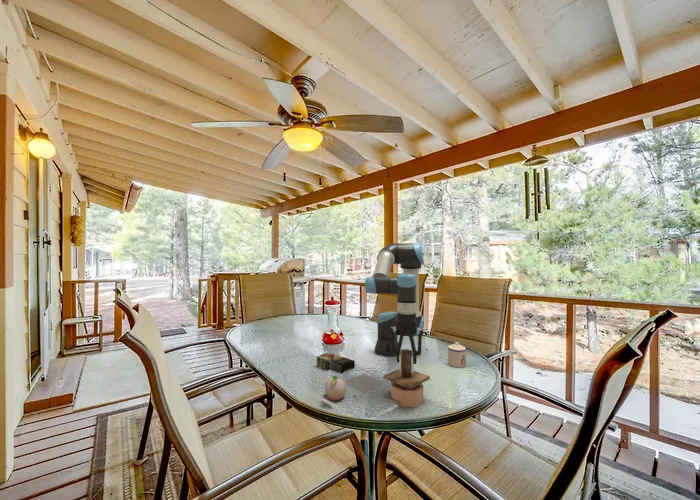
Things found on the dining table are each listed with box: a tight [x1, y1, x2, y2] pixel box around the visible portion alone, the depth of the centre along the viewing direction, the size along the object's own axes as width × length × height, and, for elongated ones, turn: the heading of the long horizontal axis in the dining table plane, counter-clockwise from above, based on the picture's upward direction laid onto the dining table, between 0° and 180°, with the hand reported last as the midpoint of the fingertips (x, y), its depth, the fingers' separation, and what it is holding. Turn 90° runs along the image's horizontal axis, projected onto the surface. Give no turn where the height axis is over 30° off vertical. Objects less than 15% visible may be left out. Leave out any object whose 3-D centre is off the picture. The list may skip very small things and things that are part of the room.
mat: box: [343, 373, 387, 393], centre depth 133 cm, size 14×14×2 cm
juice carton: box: [316, 352, 356, 374], centre depth 153 cm, size 20×10×6 cm, turn 46°
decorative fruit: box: [325, 375, 347, 401], centre depth 120 cm, size 9×8×10 cm
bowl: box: [390, 381, 424, 408], centre depth 121 cm, size 12×12×6 cm
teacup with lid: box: [447, 341, 467, 368], centre depth 160 cm, size 12×9×12 cm
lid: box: [383, 348, 431, 389], centre depth 121 cm, size 13×13×11 cm
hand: (406, 370), depth 121 cm, fingers closed on lid, 4 cm apart
